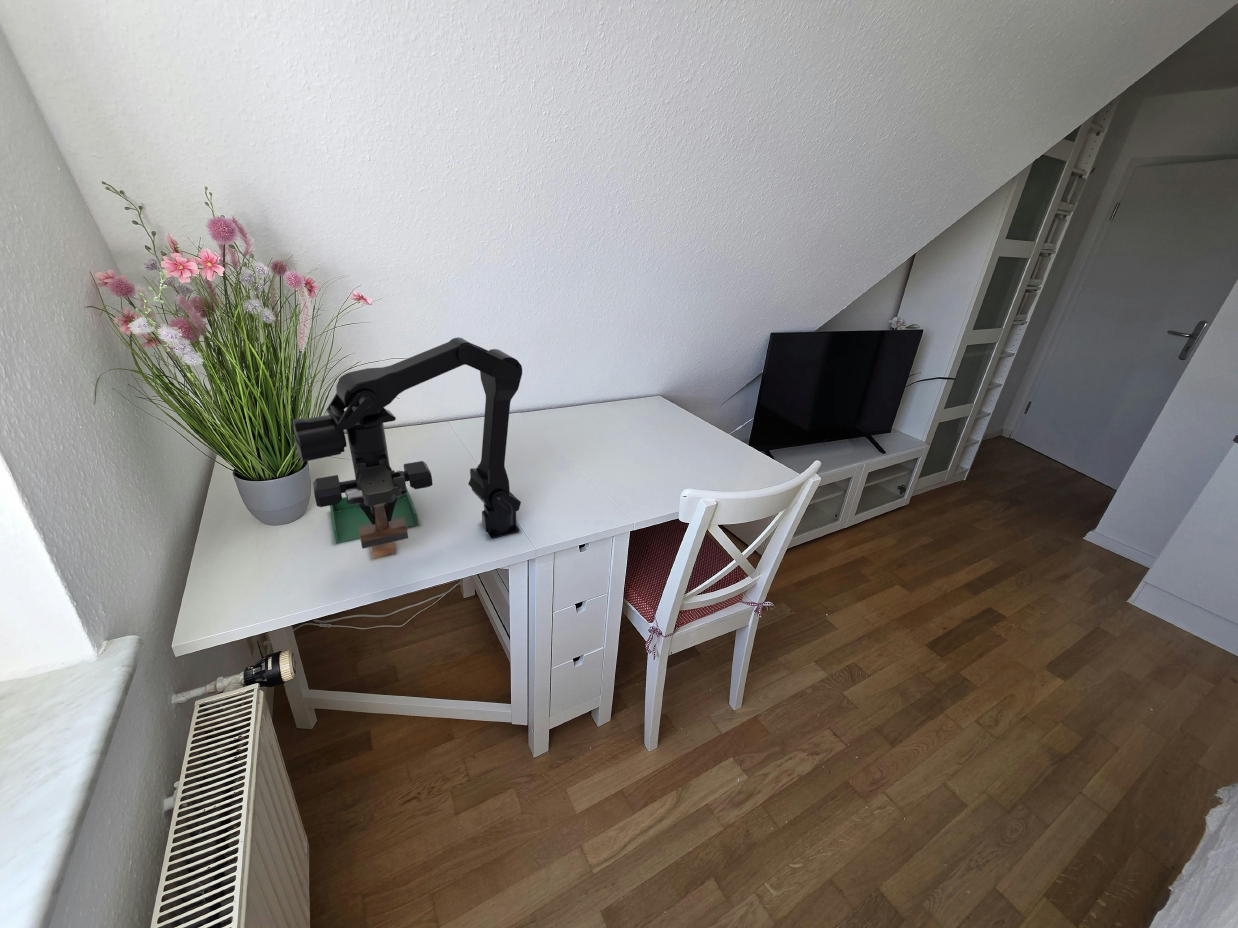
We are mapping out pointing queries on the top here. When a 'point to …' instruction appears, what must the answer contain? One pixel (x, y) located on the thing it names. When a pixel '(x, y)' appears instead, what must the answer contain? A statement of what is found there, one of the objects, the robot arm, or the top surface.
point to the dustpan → (354, 518)
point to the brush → (382, 529)
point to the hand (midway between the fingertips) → (381, 521)
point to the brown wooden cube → (383, 550)
